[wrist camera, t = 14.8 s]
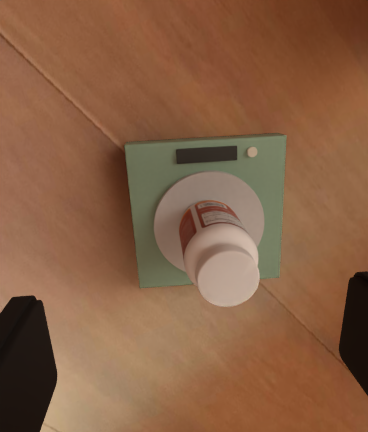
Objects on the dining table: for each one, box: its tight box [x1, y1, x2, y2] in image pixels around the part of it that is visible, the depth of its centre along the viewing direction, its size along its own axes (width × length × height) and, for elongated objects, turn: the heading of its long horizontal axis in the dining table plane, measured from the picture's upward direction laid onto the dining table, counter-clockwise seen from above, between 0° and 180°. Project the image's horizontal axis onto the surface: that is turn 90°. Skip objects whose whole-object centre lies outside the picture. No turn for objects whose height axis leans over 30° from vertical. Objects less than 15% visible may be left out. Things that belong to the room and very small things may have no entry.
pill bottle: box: [179, 200, 260, 307], centre depth 30 cm, size 6×6×11 cm
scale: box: [124, 133, 286, 288], centre depth 36 cm, size 16×16×3 cm
